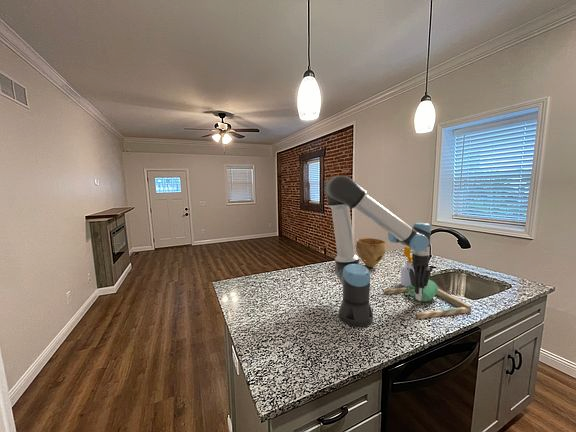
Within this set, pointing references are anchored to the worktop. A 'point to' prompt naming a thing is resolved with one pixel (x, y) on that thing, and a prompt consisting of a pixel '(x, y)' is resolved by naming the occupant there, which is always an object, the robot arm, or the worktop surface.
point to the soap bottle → (404, 272)
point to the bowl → (370, 250)
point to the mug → (425, 291)
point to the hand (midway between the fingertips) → (418, 299)
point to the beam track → (447, 311)
